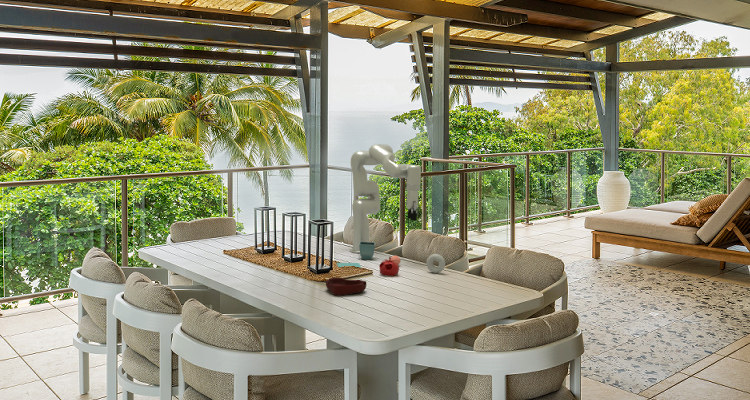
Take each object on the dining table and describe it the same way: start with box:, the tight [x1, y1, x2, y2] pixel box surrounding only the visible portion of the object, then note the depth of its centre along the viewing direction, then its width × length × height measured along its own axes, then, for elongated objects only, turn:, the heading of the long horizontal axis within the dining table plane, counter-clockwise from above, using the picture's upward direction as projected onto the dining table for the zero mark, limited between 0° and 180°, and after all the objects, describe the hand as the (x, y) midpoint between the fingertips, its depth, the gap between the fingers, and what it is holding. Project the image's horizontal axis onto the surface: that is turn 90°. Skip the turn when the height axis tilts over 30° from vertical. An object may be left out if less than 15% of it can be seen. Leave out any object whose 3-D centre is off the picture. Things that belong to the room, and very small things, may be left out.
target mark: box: [336, 262, 362, 269], centre depth 353 cm, size 12×12×1 cm
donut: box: [425, 253, 446, 274], centre depth 341 cm, size 10×4×10 cm, turn 69°
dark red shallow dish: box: [325, 276, 367, 297], centre depth 293 cm, size 18×16×5 cm
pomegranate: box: [378, 256, 400, 277], centre depth 333 cm, size 10×10×9 cm
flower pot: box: [359, 241, 376, 261], centre depth 373 cm, size 9×9×9 cm
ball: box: [390, 255, 401, 266], centre depth 356 cm, size 6×6×6 cm
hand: (412, 219), depth 361 cm, fingers open, 9 cm apart
